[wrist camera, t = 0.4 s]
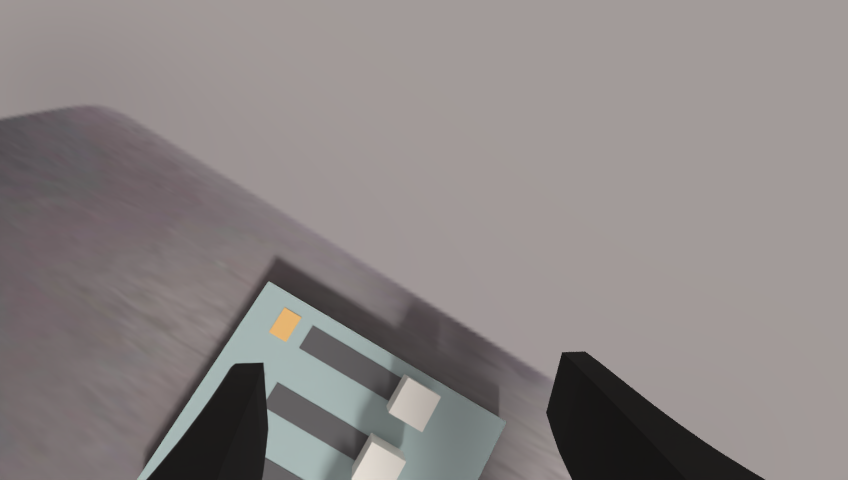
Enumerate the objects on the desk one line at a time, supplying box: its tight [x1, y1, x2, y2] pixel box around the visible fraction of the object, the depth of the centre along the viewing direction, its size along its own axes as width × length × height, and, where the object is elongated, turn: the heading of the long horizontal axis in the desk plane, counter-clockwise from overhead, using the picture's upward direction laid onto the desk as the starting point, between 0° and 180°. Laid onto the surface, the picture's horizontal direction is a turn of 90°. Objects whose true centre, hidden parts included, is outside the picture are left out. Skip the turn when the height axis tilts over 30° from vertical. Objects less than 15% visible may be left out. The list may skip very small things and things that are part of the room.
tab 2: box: [386, 374, 441, 432], centre depth 33 cm, size 2×2×3 cm
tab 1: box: [351, 433, 406, 480], centre depth 32 cm, size 2×2×3 cm
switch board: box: [137, 281, 506, 480], centre depth 35 cm, size 20×16×2 cm
